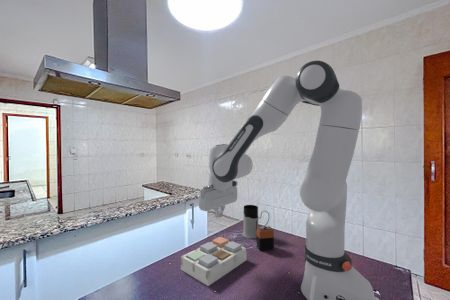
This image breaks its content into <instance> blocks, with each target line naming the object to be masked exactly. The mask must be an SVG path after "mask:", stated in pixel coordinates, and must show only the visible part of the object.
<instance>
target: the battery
mask: <svg viewBox="0 0 450 300" xmlns="http://www.w3.org/2000/svg"><path fill="white" fill-rule="evenodd" d="M274 232H275V231H274V229H273V228H272V226H269V225H268V226H267V225H266V226H265V227H264V226H262V225H261V226H258V228H257V238H256V248H257V249H258V250H259V251H260V252H261V251H262V252H264V251H272V250H274V249H275V243H274V242H275V241H274V240H275V235H274V234H275V233H274Z"/></svg>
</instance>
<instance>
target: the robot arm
mask: <svg viewBox="0 0 450 300" xmlns="http://www.w3.org/2000/svg"><path fill="white" fill-rule="evenodd" d="M299 103H302V104H306V105H307V104H308V105H313V106H319V107H320V110H321V112H320V119H319V122H318V123H319V124H318V128H317V133H316V138H315V142H314V147H313V150H312V154H311V157H310V159H309V163H308V166H307V168H306V171H305V174H304V178H303V181H302V183H301V186H300V188H299V197H300V200H301V201H302V203H303V204H304V206H305V207H307V208H308V214H307V218H306V220H305V221H306V222H305V224H306V225H305V226H306V227H305V233H306V234H305V235H306V237H305V239H306V240H305V245H304V254H303V257H304V262H305V264H304V265H305V266H304V273H303V277H302V283H301V284H300V291H301V294H302V295H303V296H304V297H305V298H306V300H380V298H379V297H377V296H375V293H374V289H373V286H372V284H371V283H370V281H369V280H368V279H367V278H366V277H364V276H363V275H362V274H361V273H360V272H359V271H358V270H357V269H355V267H354V266H353V254H350V255H348V253H347V252H346V250H345V240H346V239H345V234H346V233H345V230H346V229H345V227H346V226H345V225H346V216H347V215H346V214H347V201H348V200H347V197H348V183H347V178H348V174H349V172H350V171H349V170H350V167H351V164H352V160H353V159H354V154H355V150H356V146H357V141H358V138H359V136H358V135H359V132H360V127H361V122H362V114H363V99H362V97H361V96H360V94H359V93H357V92H355V91H352V90H348V89H347V90H346V89H341V88H340V83H339V80H338V77H337V75H336V73H335V70H334V69H333V68H332V66H331V64H329V63H327V62H326V61H323V60H311V61H309V62H306V63H305V64H303V65H302V66H301V67H300V68H299V70H298V71H297V73H296V76H295V77H294V76H290V75H281V76H279V77H278V78H276V80H275V81H274V82H272V84H271V86H270V87H269V88H268V89H267V91H266V92H265V93H264V95H263V97H262V98H261V100H260V101H259V103H258V105H257V106H256V108H255V109H254V111H253V112H252V114H251V115H249V117H248V118H247V119H246V120H245V121H244V123H242V126H241V127H239V129H238V130H237V132H236V133H235V135H234V136H233V138H232V139H231V141H230V142H229V144H227V143H226V144H224V143H223V144H216V145H213V146H212V147H211V148H210V150H209V153H208V154H209V155H208V156H209V157H208V167H209V174H208V185H206V186H203V187H202V188H201V189H200V195H199V200H198V208H199V210H200V211H203V212H208V211H211V210H213V212H214V215H215V218H221V217H223V216H224V211H225V208H226V205H229V204H233V203H235V202H236V201H237V200H238V187H237V186H238V181H237V179H241V178H243V177H246V176H248V175H249V174H250V173H251V172H252V170H253V160H252V159H251V157H250V156H249V155H248V154H246V153H247V151H248V150H249V148H250V147H251V146H252V145H253V143H254V142H255V141H256V140H258V139H259V138H260V137H263V136H265V135H267V134H271V133H272V132H275V131H277V130H278V129H279V128H280V127H282V125H283V124H284V123H285V122H286V120H287V119H288V118H289V116H290V115H291V112H292V111H293V110H294V108H295V107H296V106H297V105H298V104H299Z"/></svg>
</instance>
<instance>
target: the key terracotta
mask: <svg viewBox="0 0 450 300" xmlns="http://www.w3.org/2000/svg"><path fill="white" fill-rule="evenodd" d="M228 241H229V239H227V238H224V237H222V236H218V237H216V238H214V239H212V240H211V242H212V243H213V244H215V245H217V247H219V248H222V247H224V245H226V244H228Z"/></svg>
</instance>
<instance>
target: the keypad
mask: <svg viewBox="0 0 450 300" xmlns="http://www.w3.org/2000/svg"><path fill="white" fill-rule="evenodd" d="M247 248H248V247H245V246H242V244H240V243H238V242H235V241H233V240H232V241H229V240H228V244H226V245H224V247H222V248H219V247H217V245H215V244H213V243H212V241H211V242H210V241H208V242H205V243H203V244H201V245H199V247H198V248H196V249H194V250H192V251H189V252H187V253H185V254H183V255H181V256H180V270H181V271H183V272H184V273H186V274H187V275H189V276H190V277H192V278H194V279H196V280H197V281H199V282H200V283H202V284H203V285H205V286H207V287H210V286H211V285H212V284H214V283H215V282H217V281H218V280H219V279H222V278H223V277H224V276H225V275H227V274H229V273H230V272H231V271H232V270H234V269H235V268H237V267H238V266H240V265H241V264H243V263H244V262H246V261H247V257H248V256H247V255H248V254H247V252H248V251H247ZM219 250H223V251H225V252H228V253H230V256H229V257H227V258H226V259H224V260H222V261H221V260H219V259H218V258H217V257H215V256H213V255H212V254H214V253H216V252H217V251H219ZM194 251H198V252H200V253H203V254H205V256H203V257H201V258H199V259H198V260H197V261H195V262H194V261H192V260H190V259H189V258H187V257H186V255H188V254H190V253H192V252H194Z"/></svg>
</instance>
